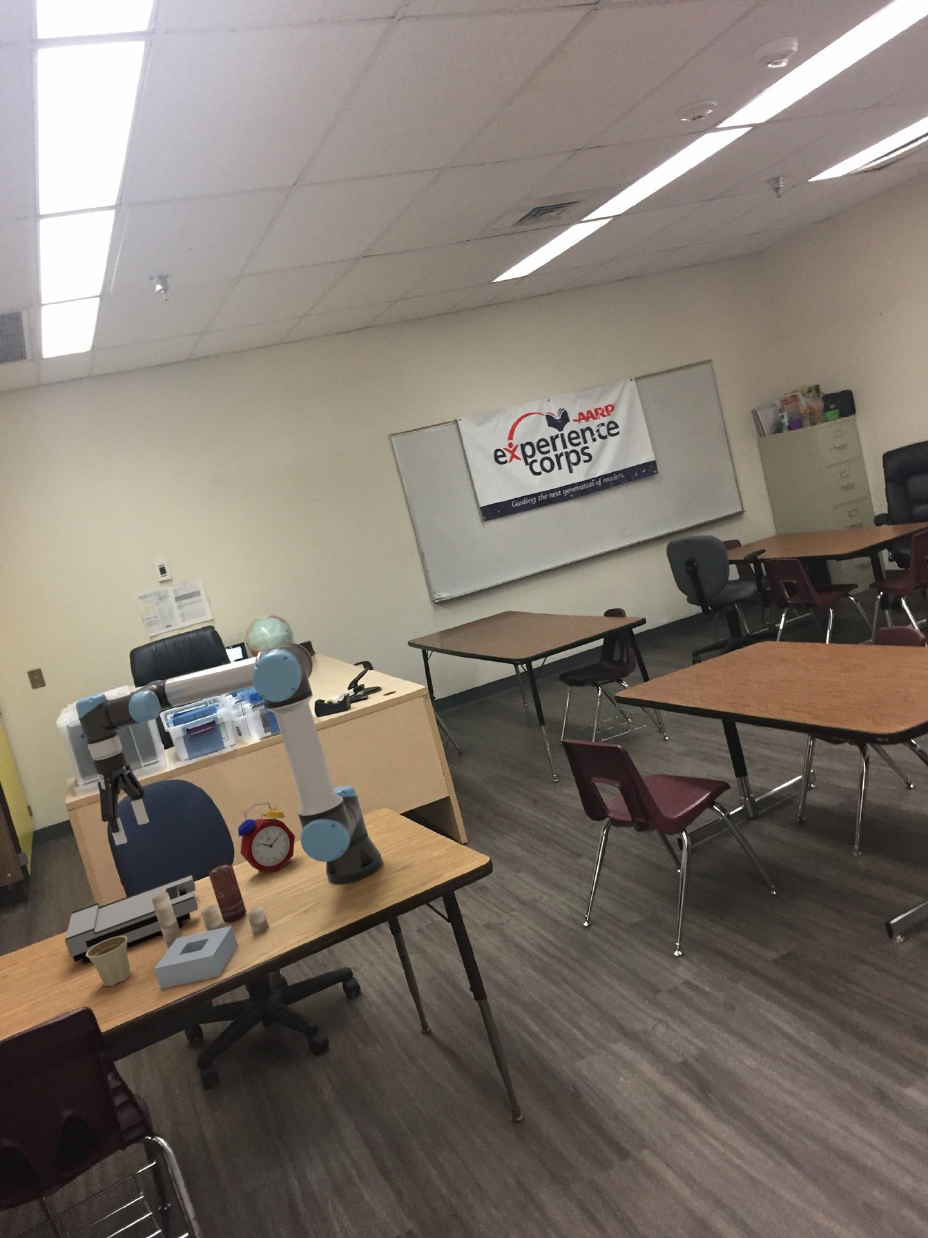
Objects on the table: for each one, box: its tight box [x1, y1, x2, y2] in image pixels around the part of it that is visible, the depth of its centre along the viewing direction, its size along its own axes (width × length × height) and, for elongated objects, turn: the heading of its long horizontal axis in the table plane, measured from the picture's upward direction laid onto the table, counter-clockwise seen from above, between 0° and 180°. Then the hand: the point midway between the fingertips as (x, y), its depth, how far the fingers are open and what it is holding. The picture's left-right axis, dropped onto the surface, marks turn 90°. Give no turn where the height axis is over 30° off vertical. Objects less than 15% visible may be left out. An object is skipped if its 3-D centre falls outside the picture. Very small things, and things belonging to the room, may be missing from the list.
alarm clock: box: [237, 801, 296, 877], centre depth 265 cm, size 15×9×20 cm, turn 123°
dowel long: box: [151, 892, 183, 950], centre depth 227 cm, size 4×4×14 cm
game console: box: [64, 873, 199, 965], centre depth 245 cm, size 21×32×8 cm, turn 109°
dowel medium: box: [200, 904, 225, 932], centre depth 226 cm, size 4×4×8 cm
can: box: [208, 862, 247, 924], centre depth 236 cm, size 6×6×14 cm
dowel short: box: [246, 906, 270, 935], centre depth 225 cm, size 4×4×5 cm
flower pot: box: [86, 936, 132, 987], centre depth 218 cm, size 9×9×9 cm
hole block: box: [154, 925, 239, 990], centre depth 213 cm, size 14×14×5 cm
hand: (133, 833), depth 235 cm, fingers open, 13 cm apart
